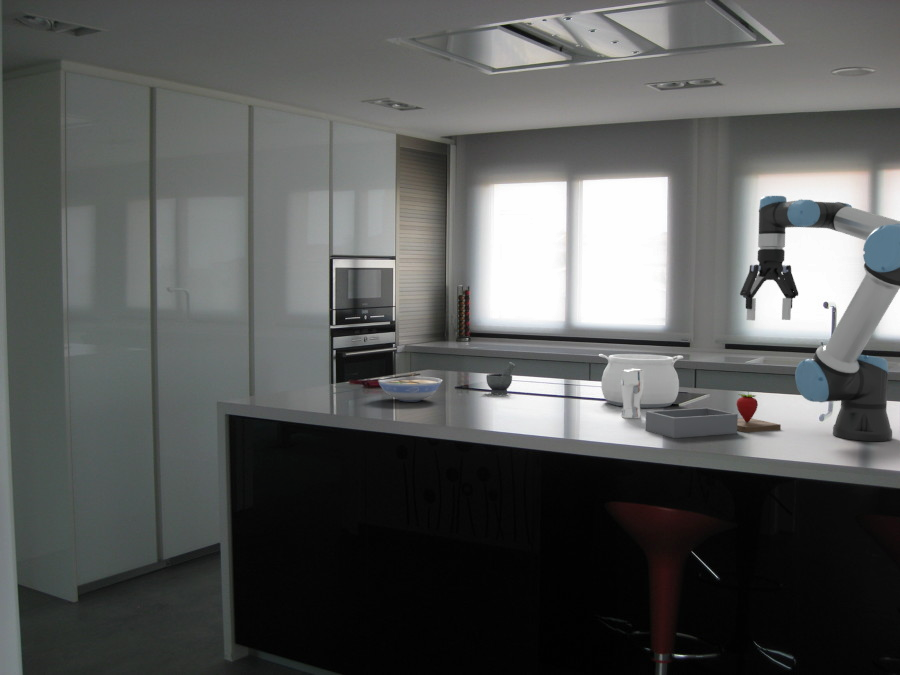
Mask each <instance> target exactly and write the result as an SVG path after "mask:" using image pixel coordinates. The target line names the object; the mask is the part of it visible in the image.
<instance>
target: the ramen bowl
mask: <svg viewBox="0 0 900 675" xmlns="http://www.w3.org/2000/svg"><path fill="white" fill-rule="evenodd" d="M371 381H372V382H378V384H379V386H380V388H381V389H382V390H383V392H384V393H386V395H388V396H390V397H392V398H395V399H397V400H398V401H400V402H403V403H416V402H421V401H422V400H424V399H426V398H429V397H431V396H433V395H434V394H435V393H436V391H438V389H439V388H440V386H441V384H442V382H443V379H441V378H439V377H438V378H437V377H431V376H421V373H419V372H418V373H417V372H414V373H407V374H401V375H395V376H388V377H387V376H386V377H381V378H378V379H373V380H371Z"/></svg>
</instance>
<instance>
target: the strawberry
mask: <svg viewBox="0 0 900 675" xmlns="http://www.w3.org/2000/svg"><path fill="white" fill-rule="evenodd" d="M747 392H748V393H747V394H745V393H744V394H743V393H742V394H741V393H739V394H738V395H737V396H741V397H739V398H738V399H737V400H736V407H737V411H738V413H739V414H740V416H741V418H743V419H744V420H745V422H749V421H750V419H751V418H752V419H753V417H754V415H755V413H756V412H757V409H758V406H759V404H758V401H757V400H758V399H756V395H754V394H750V393H749V391H747Z"/></svg>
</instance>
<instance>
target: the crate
mask: <svg viewBox="0 0 900 675" xmlns="http://www.w3.org/2000/svg"><path fill="white" fill-rule="evenodd" d="M738 418H739V415H738V413H733V412H729V411H726V410H725V411H724V410H721V409H720V410H719V409H714V408H711V407H701V408H681V409H663V410H648V411H645V431H647V432H650V433H653V434H658V435H662V436H665V437H668V438H671V439H679V438H682V439H683V438H691V437H692V438H693V437H694V438H695V437H706V436H718V435H719V436H720V435H734V434H738V430H737V420H738Z"/></svg>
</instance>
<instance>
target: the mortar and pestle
mask: <svg viewBox="0 0 900 675" xmlns="http://www.w3.org/2000/svg"><path fill="white" fill-rule="evenodd" d="M515 367H516V364H515V363H514V362H512V361H509V362H508V365H507V367H506V368H505V369H504V371H503V373H490V374H486V375H485V376H486V384H487V386H488V387H489V388H490V389H491V391H490V394H492V395H507V394H508V389H509V388H510V386H511V384H512V380H513V374H512V372H513V371H514V369H515Z"/></svg>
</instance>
